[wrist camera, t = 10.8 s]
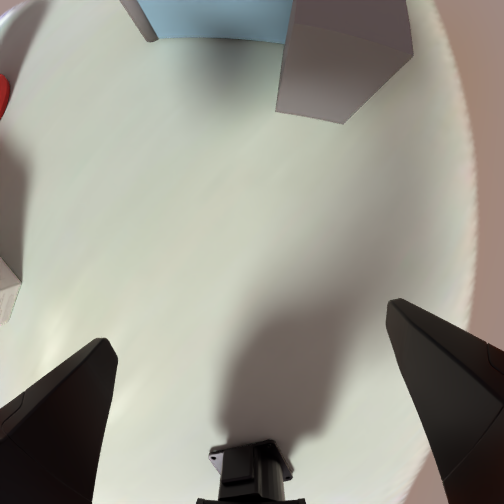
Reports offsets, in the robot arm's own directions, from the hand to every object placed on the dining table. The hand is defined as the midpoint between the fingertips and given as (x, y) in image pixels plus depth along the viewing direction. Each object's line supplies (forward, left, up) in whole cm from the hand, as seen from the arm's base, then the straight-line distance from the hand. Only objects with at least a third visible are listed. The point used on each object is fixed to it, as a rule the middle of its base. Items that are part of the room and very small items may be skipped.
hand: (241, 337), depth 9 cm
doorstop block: (+11, -9, -12) cm, 19 cm away
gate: (+17, -5, -12) cm, 22 cm away
